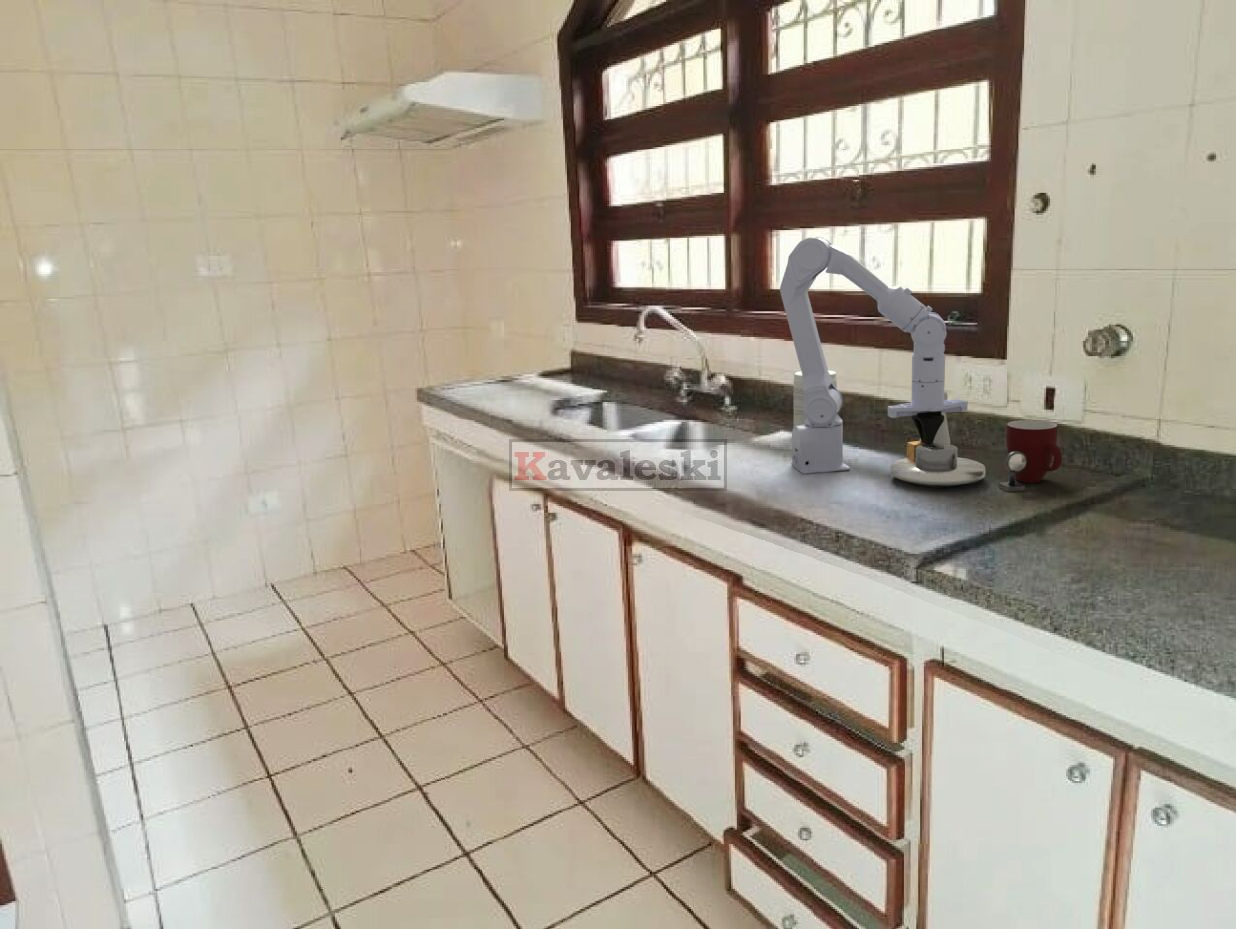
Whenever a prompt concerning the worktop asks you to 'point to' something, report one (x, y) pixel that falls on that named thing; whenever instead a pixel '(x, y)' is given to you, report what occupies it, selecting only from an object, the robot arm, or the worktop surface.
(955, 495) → the worktop surface
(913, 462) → the turntable
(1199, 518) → the worktop surface
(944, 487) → the turntable base
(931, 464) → the cover
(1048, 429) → the mug
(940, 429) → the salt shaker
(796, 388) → the supplement tub
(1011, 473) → the dial gauge
